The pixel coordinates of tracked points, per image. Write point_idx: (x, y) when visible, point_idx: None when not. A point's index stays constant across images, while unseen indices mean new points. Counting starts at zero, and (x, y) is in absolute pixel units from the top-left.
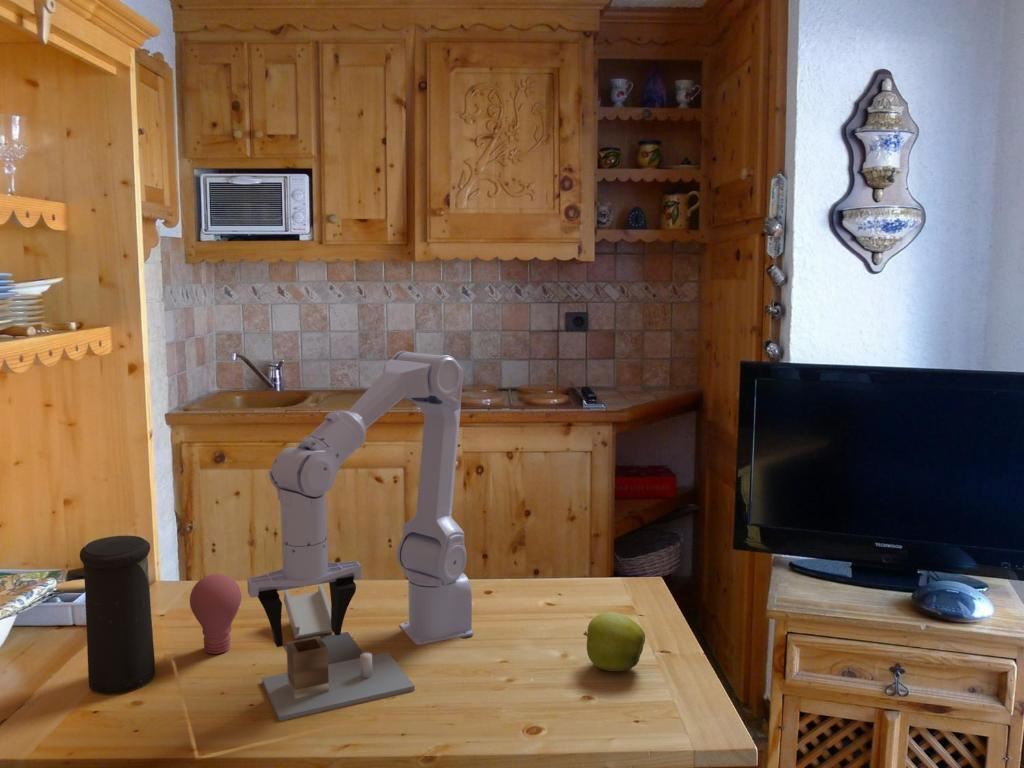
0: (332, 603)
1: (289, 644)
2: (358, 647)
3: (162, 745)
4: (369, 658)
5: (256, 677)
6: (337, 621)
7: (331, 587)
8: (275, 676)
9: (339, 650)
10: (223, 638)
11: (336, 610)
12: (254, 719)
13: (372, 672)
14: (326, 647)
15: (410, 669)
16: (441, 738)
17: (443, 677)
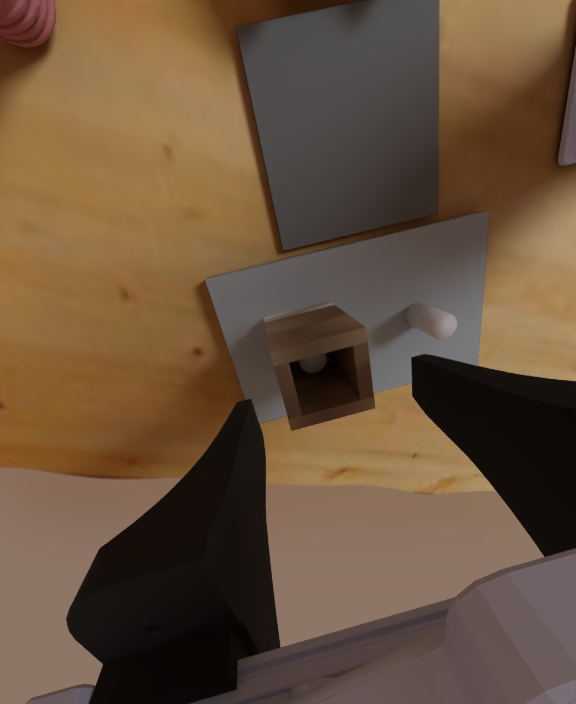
0: (486, 405)
1: (278, 370)
2: (436, 136)
3: (73, 449)
4: (445, 337)
5: (187, 234)
6: (447, 433)
7: (567, 450)
8: (234, 278)
9: (389, 140)
10: (5, 3)
11: (476, 449)
12: (211, 398)
13: (429, 302)
14: (373, 400)
15: (496, 274)
16: (452, 467)
17: (530, 317)
